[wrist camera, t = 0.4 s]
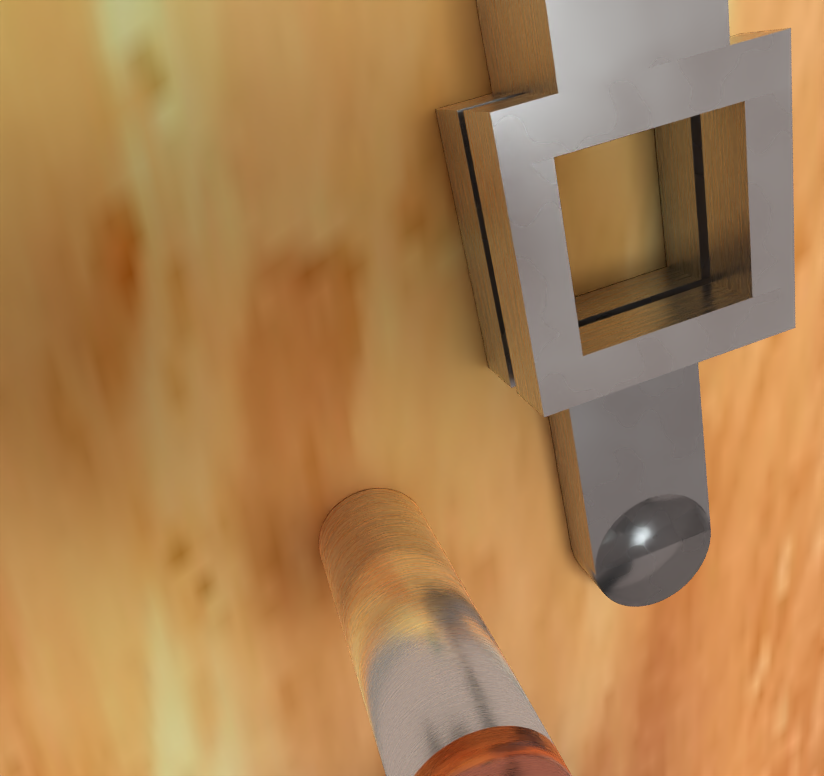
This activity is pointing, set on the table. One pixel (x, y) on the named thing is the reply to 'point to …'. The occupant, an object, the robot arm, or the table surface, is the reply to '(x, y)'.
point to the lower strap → (625, 409)
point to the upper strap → (611, 119)
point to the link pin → (425, 649)
